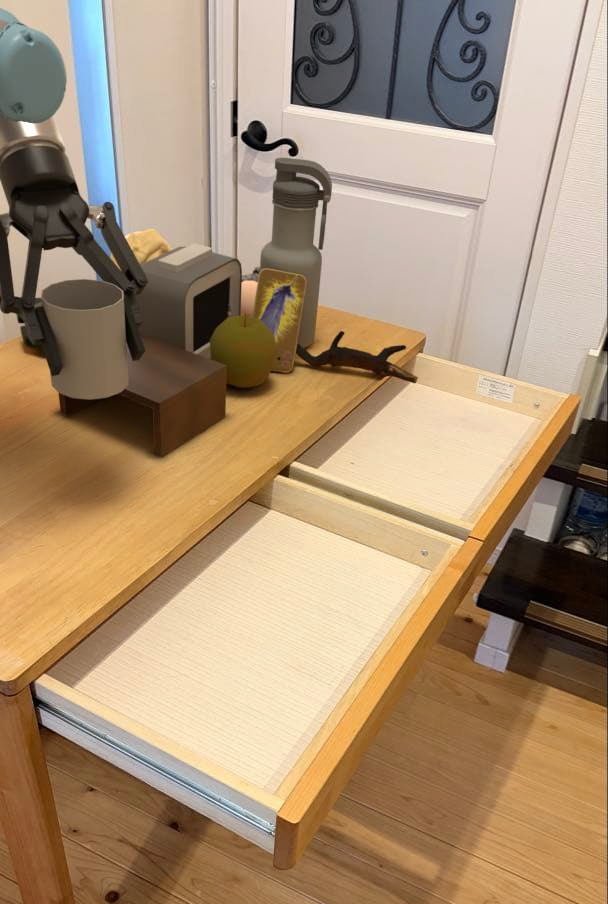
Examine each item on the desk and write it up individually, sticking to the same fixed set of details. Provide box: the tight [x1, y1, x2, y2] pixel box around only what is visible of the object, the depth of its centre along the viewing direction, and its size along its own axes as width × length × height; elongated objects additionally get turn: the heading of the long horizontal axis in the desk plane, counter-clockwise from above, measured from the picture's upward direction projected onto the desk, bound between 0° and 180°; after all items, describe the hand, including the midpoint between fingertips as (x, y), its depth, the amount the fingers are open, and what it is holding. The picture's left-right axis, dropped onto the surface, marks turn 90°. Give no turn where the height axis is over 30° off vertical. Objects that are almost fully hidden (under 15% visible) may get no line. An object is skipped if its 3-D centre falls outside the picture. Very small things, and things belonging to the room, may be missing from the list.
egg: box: [240, 281, 258, 317], centre depth 141 cm, size 7×7×8 cm
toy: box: [295, 330, 419, 384], centre depth 129 cm, size 23×7×5 cm
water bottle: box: [259, 157, 333, 349], centre depth 129 cm, size 10×10×28 cm
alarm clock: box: [136, 242, 243, 359], centre depth 127 cm, size 16×11×16 cm
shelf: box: [58, 333, 227, 458], centre depth 112 cm, size 14×18×8 cm
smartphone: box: [253, 268, 306, 374], centre depth 127 cm, size 8×15×1 cm
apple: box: [210, 314, 278, 389], centre depth 121 cm, size 10×10×11 cm
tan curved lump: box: [109, 228, 173, 272], centre depth 143 cm, size 11×12×11 cm
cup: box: [40, 278, 128, 400], centre depth 88 cm, size 8×8×10 cm
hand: (99, 363), depth 87 cm, fingers closed on cup, 8 cm apart
